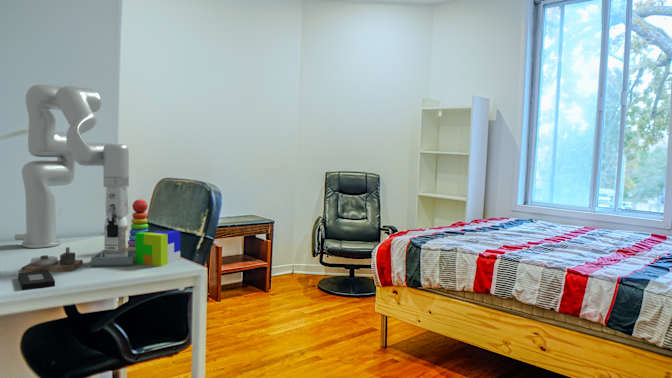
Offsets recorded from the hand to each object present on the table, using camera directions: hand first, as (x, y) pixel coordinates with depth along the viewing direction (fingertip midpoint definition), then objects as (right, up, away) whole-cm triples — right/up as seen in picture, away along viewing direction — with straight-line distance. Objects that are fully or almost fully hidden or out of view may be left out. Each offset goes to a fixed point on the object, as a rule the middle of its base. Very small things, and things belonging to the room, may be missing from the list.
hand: (116, 234), depth 165 cm
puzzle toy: (+13, -10, +3) cm, 16 cm away
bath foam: (0, -9, +1) cm, 9 cm away
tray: (0, -9, +1) cm, 9 cm away
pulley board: (-16, -9, -9) cm, 20 cm away
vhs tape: (-11, -12, -25) cm, 30 cm away
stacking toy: (-1, -8, +20) cm, 21 cm away
